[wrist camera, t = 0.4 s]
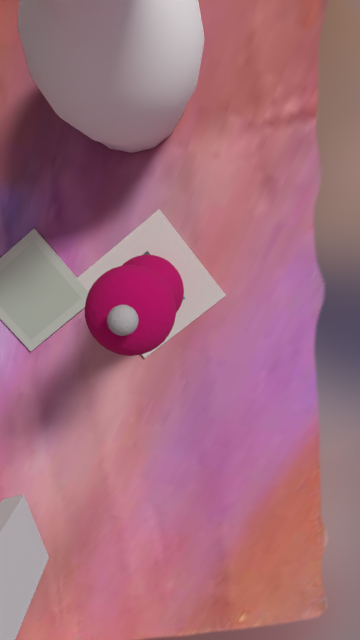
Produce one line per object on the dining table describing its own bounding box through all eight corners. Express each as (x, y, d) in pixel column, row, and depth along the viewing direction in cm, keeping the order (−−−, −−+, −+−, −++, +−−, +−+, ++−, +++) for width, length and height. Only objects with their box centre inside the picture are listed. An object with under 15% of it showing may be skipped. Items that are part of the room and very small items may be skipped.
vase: (198, 6, 33) (224, -361, 13) (199, 163, 36) (221, 52, 16) (53, 10, 33) (-137, -350, 13) (65, 165, 36) (-76, 59, 16)
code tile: (77, 278, 38) (76, 278, 38) (159, 209, 36) (159, 209, 36) (145, 357, 40) (144, 358, 40) (225, 295, 38) (225, 295, 38)
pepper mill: (162, 329, 39) (144, 407, 19) (108, 297, 38) (31, 344, 18) (195, 276, 38) (211, 301, 18) (139, 242, 37) (93, 229, 17)
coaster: (-29, 285, 38) (-31, 285, 38) (34, 228, 37) (33, 228, 37) (31, 351, 40) (30, 351, 39) (94, 298, 38) (94, 299, 38)
